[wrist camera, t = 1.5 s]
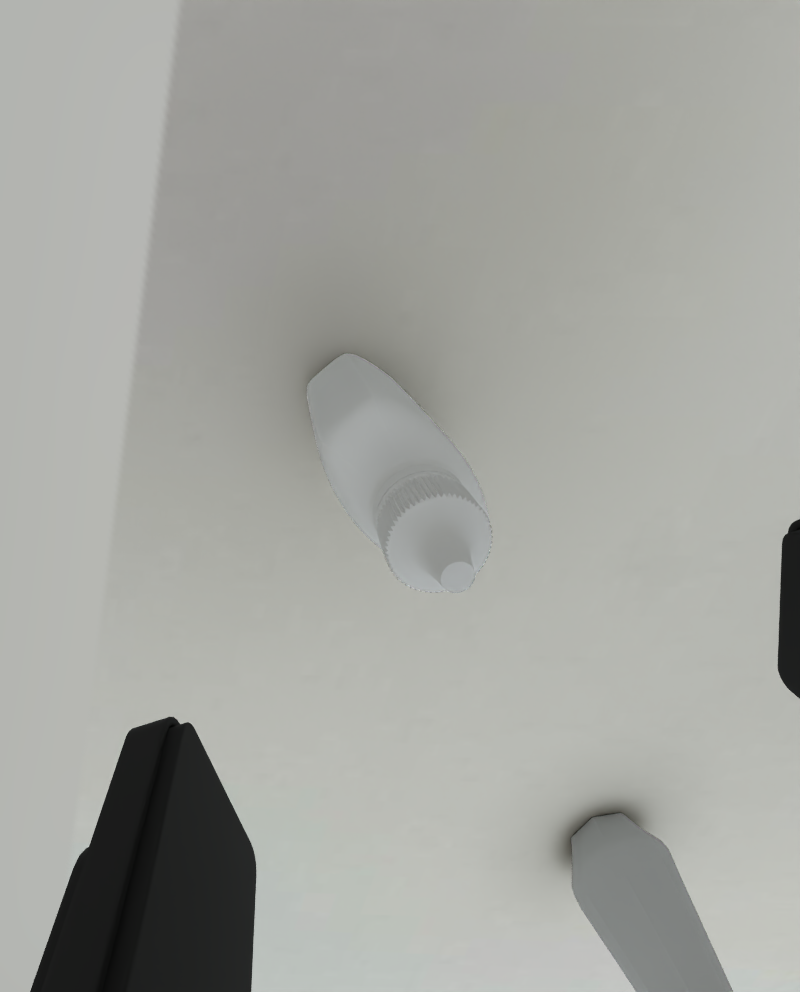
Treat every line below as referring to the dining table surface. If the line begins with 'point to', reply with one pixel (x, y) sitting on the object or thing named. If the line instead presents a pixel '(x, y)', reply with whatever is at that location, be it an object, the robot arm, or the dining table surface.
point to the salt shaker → (642, 908)
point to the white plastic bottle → (399, 476)
